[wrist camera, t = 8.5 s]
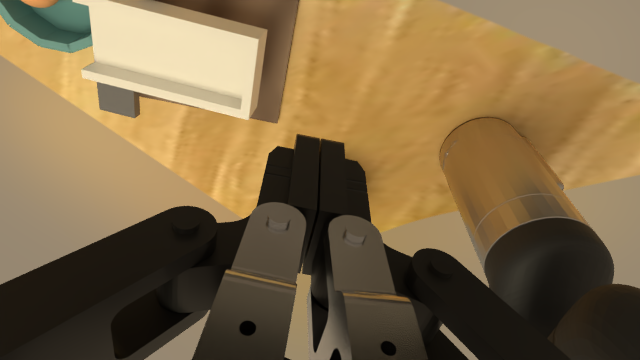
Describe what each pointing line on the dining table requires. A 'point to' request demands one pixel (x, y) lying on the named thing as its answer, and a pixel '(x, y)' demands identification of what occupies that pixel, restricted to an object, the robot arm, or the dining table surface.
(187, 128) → the dining table surface
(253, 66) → the cream shallow tray
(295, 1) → the stand
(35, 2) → the ball
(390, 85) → the dining table surface
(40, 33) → the teal round bowl
